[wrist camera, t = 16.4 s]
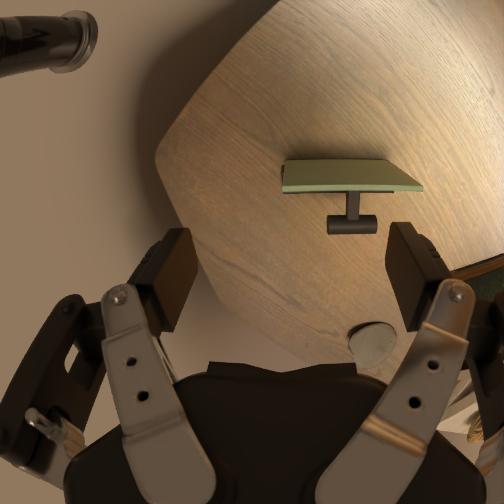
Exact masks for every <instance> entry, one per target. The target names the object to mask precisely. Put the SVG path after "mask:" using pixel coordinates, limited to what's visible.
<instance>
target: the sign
mask: <svg viewBox="0 0 504 504" xmlns="http://www.w3.org/2000/svg"><path fill="white" fill-rule="evenodd" d="M345 190H346V215H327V233H328V235H332V234H375V233H376V232H377V218H376V215H359V203H360V190H367V191H416V192H423V186H422V185H421V184H420V183H418V182H417V181H416V180H414V179H413V178H412V177H410V176H409V175H408V174H406V173H405V172H404V171H402V170H401V169H399V168H398V167H397V166H395V165H394V164H392V163H391V162H389V161H388V160H365V159H315V160H285V166H284V174H283V183H282V191H283V192H295V191H345Z"/></svg>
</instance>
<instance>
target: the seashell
mask: <svg viewBox="0 0 504 504" xmlns="http://www.w3.org/2000/svg"><path fill="white" fill-rule="evenodd" d="M396 339H397V336H396V333H395V331H394V329H393V328H392V327H391V326H390V325H387V324H384V323H376V324H372V325H369V326H366V327H364V328H362V329H360V330H359V331H358V332H356V333H355V334H353V336H352V337H351V338H350V341H349V343H348V348H349V350H350V352H351V353H352V354H353V358H354V363H356V366H357V367H358V368H362V369H370V368H373V367H375V366H377V365H379V364H381V363H382V362H383V361H384V360H386V358H388V357H389V355H390V354H391V352H392V351H393V349H394V347H395V344H396Z"/></svg>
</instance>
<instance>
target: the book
mask: <svg viewBox="0 0 504 504" xmlns="http://www.w3.org/2000/svg"><path fill="white" fill-rule="evenodd" d="M450 273H451V275H452V276H453V278H454V279H458V280H461V281H463V282H465V283H466V284H468V285H469V286H470V287H471V288H472V289H473V291H474V293H475V296H476V297H478V298H483V299H488V300H493V298H494V296H495V294H496V292H497V291H498V290H500V289H504V254H501V255H499V256H496V257H493V258H490V259H488V260H485V261H482V262H479V263H476V264H473V265H470V266H467V267H464V268H461V269H458V270H455V271H452V272H450Z"/></svg>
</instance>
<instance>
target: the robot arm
mask: <svg viewBox="0 0 504 504" xmlns="http://www.w3.org/2000/svg"><path fill="white" fill-rule="evenodd" d="M84 41H85V26H84V24H83V22H82V21H81V20H80V19H79V18H77V17H66V16H65V17H59V16H15V17H3V18H0V78H2V77H6V76H10V75H14V74H18V73H24V72H28V71H34V70H39V69H45V68H52V67H63V66H66V65H68V64H70V63H71V62H72V61H74V60H75V58H76V57H77V56H78V55H79V53H80V51H81V49H82V47H83V44H84ZM385 267H386V271H387V274H388V277H389V279H390V282H391V285H392V288H393V290H394V293H395V296H396V299H397V302H398V305H399V308H400V311H401V314H402V317H403V320H404V324H405V327H406V330H407V332H414V331H418V333H417V335H416V337H415V339H414V341H413V343H412V345H411V347H410V348H409V350H408V352H407V354H406V356H405V358H404V360H403V361H402V363H401V365H400V367H399V369H398V370H397V372H396V374H395V375H394V377H393V379H392V380H391V382H390V384H389V385H387V384H385V383H384V382H382V381H380V380H378V379H376V378H373V377H371V376H368V375H364V374H359V373H357V368H356V363H340V364H319V365H315V366H311V367H307V368H302V369H298V370H294V371H288V372H283V373H282V372H281V373H280V372H275V371H270V370H267V369H263V368H259V367H255V366H251V365H248V364H242V363H225V362H211V361H209V365H208V369H207V372H201V373H197V374H194V375H191V376H188V377H186V378H184V379H181V380H179V378H178V377H177V375H176V372H175V370H174V368H173V366H172V364H171V362H170V359H169V357H168V355H167V353H166V350H165V348H164V346H163V344H162V341H161V339H160V335H161V332H162V331H163V332H173V331H174V329H175V326H176V324H177V321H178V319H179V316H180V314H181V311H182V309H183V306H184V304H185V302H186V299H187V297H188V294H189V292H190V289H191V287H192V285H193V282H194V280H195V277H196V275H197V272H198V259H197V255H196V251H195V247H194V243H193V239H192V235H191V232H190V230H189V228H171V229H169V230H168V232H167V233H166V235H165V236H164V238H163V239H162V240H161V241H158V242H157V243H156V244H154V245H153V246H152V247H151V248H150V249H149V250H148V251H147V253H146V254H145V257H143V259H142V260H141V262H140V264H139V265H138V266H137V268H136V269H135V271H134V272H133V274H132V275H131V277H130V278H129V280H128V281H127V283H126V284H120V285H117V286H115V287H113V288H111V289H110V290H108V291H107V292H106V293H105V294H104V295H103V297H102V299H101V301H100V302H96V303H91V304H86V303H85V301H84V300H83V298H82V297H81V296H80V295H78V294H73V295H69V296H66V297H65V298H63V299H62V300H60V301H59V302H58V303H57V305H56V306H55V307H54V309H53V311H52V312H51V313H50V315H49V316H48V318H47V320H46V321H45V323H44V324H43V326H42V328H41V329H40V331H39V332H38V334H37V336H36V337H35V339H34V341H33V342H32V344H31V346H30V347H29V349H28V351H27V353H26V354H25V356H24V358H23V360H22V362H21V363H20V365H19V367H18V369H17V371H16V373H15V375H14V377H13V378H12V380H11V382H10V384H9V386H8V388H7V390H6V392H5V395H4V397H3V399H2V401H1V403H0V457H2V458H4V459H5V460H7V461H8V462H10V463H11V464H12V465H14V466H15V467H17V468H18V469H20V470H22V471H24V472H26V473H28V474H30V475H32V476H34V477H36V478H38V479H42V480H44V481H46V482H48V483H50V484H52V485H54V486H56V487H58V488H59V489H61V490H63V491H64V497H65V502H66V504H504V363H503V360H502V357H501V354H500V352H501V350H502V349H503V348H504V289H500V290H498V291H497V292H496V294H495V296H494V298H493V300H488V299H483V298H478V297H476V296H475V293H474V291H473V289H472V288H471V287H470V286H469V285H468V284H466V283H465V282H463V281H461V280H458V279H454V278H453V276H452V275H451V273H450V271H449V269H448V268H447V266H446V264H445V263H444V261H443V259H442V258H440V255H439V253H438V251H436V248H435V247H434V245H433V244H432V242H431V241H430V240H429V239H427V238H426V237H425V236H423V235H422V234H418V233H417V231H416V230H415V228H414V227H413V225H412V224H411V223H410V222H392V223H391V225H390V230H389V237H388V243H387V249H386V255H385ZM72 344H74V345H75V347H76V348H77V349H78V351H79V352H78V354H77V356H76V358H75V360H74V362H73V364H72V367H71V369H70V371H69V373H67V371H66V369H65V366H64V362H65V358H66V356H67V354H68V352H69V350H70V348H71V346H72ZM464 358H466V361H467V364H468V368H469V372H470V375H471V379H472V383H473V387H474V391H475V395H476V400H477V404H478V409H479V414H480V419H481V425H482V431H483V438H484V443H483V445H482V446H481V449H480V451H479V456H478V459H477V460H476V463H475V465H474V464H473V463H472V462H471V461H470V460H469V459H467V458H466V457H465V456H464V455H463V454H462V453H461V452H460V451H459V450H458V449H457V448H456V447H455V446H453V445H452V444H451V443H450V442H449V441H448V440H447V439H446V438H445V437H444V436H443V435H442V434H440V433H439V432H438V431H437V430H436V428H437V426H438V424H439V422H440V420H441V418H442V416H443V413H444V411H445V409H446V407H447V404H448V402H449V399H450V397H451V395H452V392H453V389H454V387H455V384H456V382H457V379H458V376H459V373H460V370H461V367H462V364H463V361H464ZM106 371H107V375H108V379H109V383H110V388H111V391H112V395H113V399H114V403H115V406H116V410H117V414H118V417H119V420H120V424H119V425H118V426H116V427H115V428H114V429H112V430H111V431H109V432H108V433H107V434H105V435H104V436H102V437H101V438H99V439H98V440H96V441H95V442H94V443H92V444H91V445H89V446H88V447H87V446H86V445H85V440H84V436H83V432H84V430H85V427H86V424H87V421H88V418H89V415H90V412H91V410H92V407H93V404H94V402H95V399H96V397H97V394H98V391H99V389H100V386H101V384H102V381H103V379H104V376H105V374H106Z"/></svg>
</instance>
